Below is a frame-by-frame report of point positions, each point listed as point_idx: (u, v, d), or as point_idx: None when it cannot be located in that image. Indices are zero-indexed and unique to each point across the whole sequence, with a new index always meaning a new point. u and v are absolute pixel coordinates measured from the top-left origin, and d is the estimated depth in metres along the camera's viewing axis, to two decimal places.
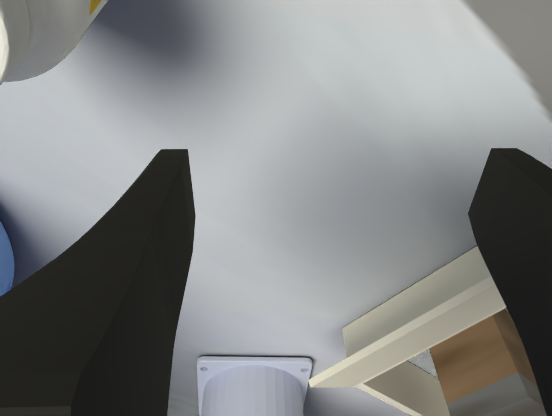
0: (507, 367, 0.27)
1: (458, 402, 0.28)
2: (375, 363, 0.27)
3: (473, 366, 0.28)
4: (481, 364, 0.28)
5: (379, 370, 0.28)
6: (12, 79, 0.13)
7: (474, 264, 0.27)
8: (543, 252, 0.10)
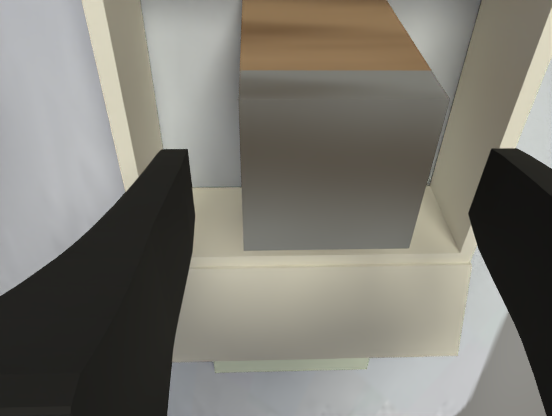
0: (409, 62, 0.12)
1: (271, 73, 0.11)
2: None
3: (332, 46, 0.13)
4: (351, 48, 0.12)
5: None
6: None
7: None
8: (544, 252, 0.10)
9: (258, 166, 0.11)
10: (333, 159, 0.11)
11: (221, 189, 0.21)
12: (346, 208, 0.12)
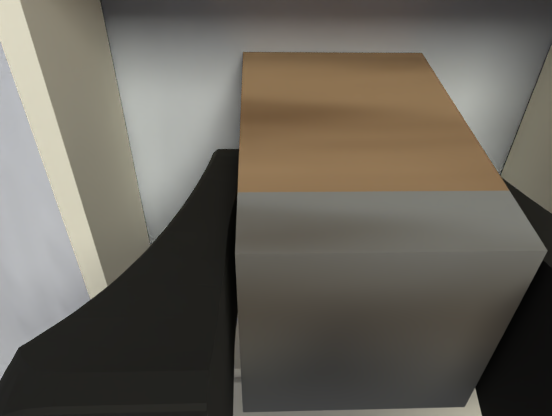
0: (475, 174, 0.09)
1: (282, 199, 0.08)
2: None
3: (364, 144, 0.09)
4: (391, 148, 0.09)
5: None
6: None
7: None
8: None
9: (264, 327, 0.08)
10: (370, 319, 0.08)
11: None
12: (384, 369, 0.09)
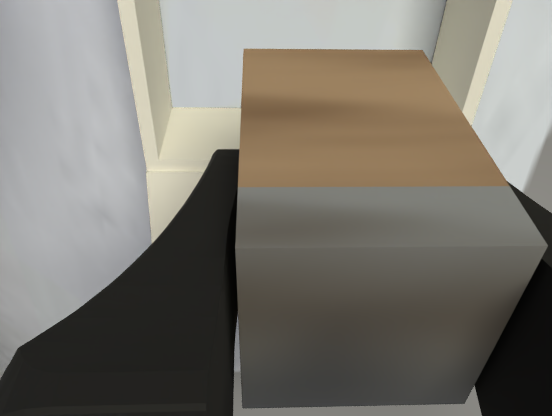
0: (476, 169, 0.09)
1: (283, 194, 0.08)
2: None
3: (365, 141, 0.09)
4: (391, 144, 0.09)
5: None
6: None
7: None
8: None
9: (264, 323, 0.08)
10: (370, 314, 0.08)
11: (221, 109, 0.22)
12: (385, 365, 0.09)
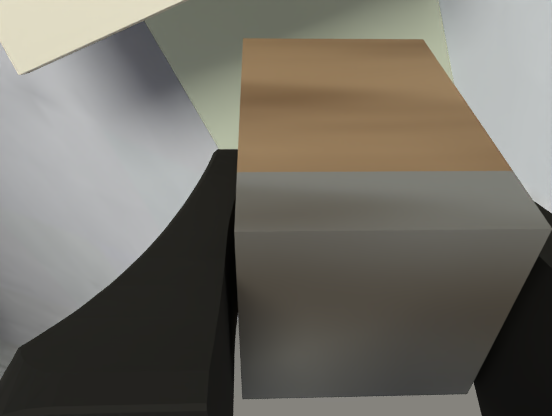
0: (478, 155, 0.08)
1: (283, 178, 0.08)
2: None
3: (366, 127, 0.09)
4: (392, 130, 0.09)
5: None
6: None
7: None
8: None
9: (264, 310, 0.08)
10: (371, 301, 0.08)
11: None
12: (386, 354, 0.09)
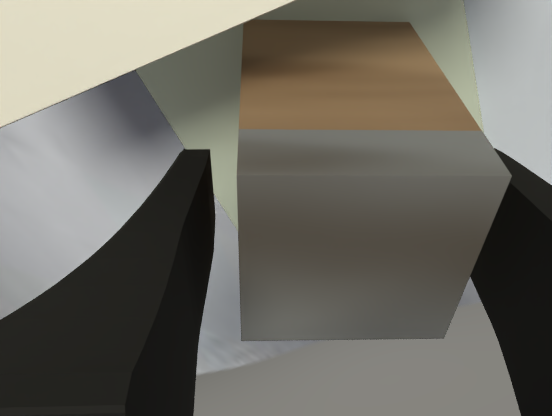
0: (452, 117, 0.09)
1: (279, 134, 0.09)
2: None
3: (354, 94, 0.10)
4: (377, 97, 0.10)
5: None
6: None
7: None
8: (519, 253, 0.10)
9: (262, 251, 0.09)
10: (356, 243, 0.09)
11: None
12: (370, 296, 0.10)
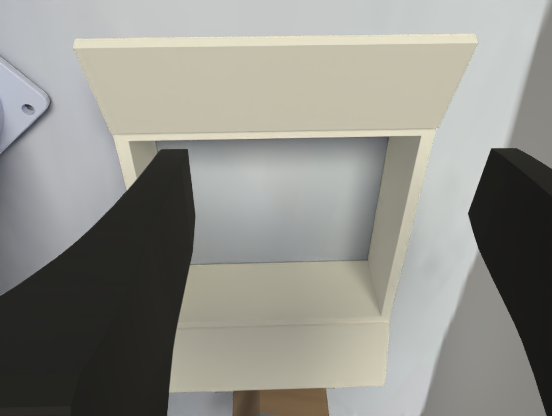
0: None
1: None
2: (192, 92, 0.16)
3: (295, 396, 0.30)
4: (302, 399, 0.30)
5: (175, 124, 0.18)
6: None
7: None
8: (543, 252, 0.10)
9: None
10: None
11: (215, 265, 0.28)
12: None
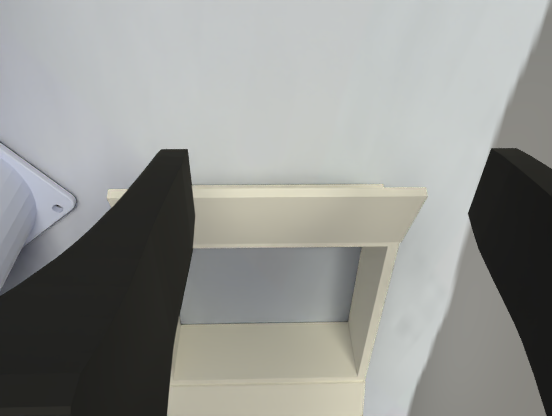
0: None
1: None
2: (199, 222, 0.20)
3: None
4: None
5: None
6: None
7: None
8: (543, 252, 0.10)
9: None
10: None
11: (214, 325, 0.32)
12: None
